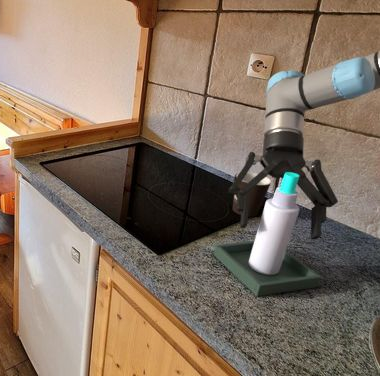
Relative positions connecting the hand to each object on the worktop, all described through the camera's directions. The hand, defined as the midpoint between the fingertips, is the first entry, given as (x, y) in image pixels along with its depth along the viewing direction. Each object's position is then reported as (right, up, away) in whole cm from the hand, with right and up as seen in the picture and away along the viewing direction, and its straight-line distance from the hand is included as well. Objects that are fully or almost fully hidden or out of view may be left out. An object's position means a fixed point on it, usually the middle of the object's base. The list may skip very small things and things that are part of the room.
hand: (279, 232), depth 81 cm
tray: (0, -9, +7) cm, 11 cm away
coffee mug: (+9, +3, +33) cm, 34 cm away
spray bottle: (0, -9, +7) cm, 11 cm away
